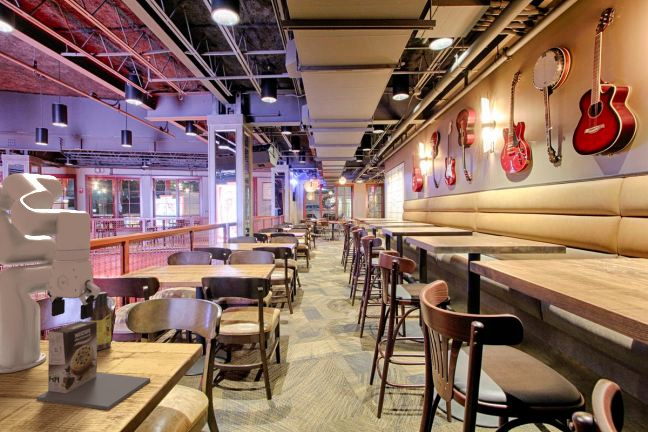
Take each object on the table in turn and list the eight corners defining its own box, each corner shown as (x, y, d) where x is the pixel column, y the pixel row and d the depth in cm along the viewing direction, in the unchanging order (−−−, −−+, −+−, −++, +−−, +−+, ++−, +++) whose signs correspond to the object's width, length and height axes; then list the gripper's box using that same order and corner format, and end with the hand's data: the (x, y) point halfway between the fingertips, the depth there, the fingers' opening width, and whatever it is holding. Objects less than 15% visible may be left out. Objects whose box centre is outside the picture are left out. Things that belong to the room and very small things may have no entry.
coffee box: (66, 394, 83) (66, 332, 83) (47, 391, 85) (46, 330, 85) (98, 377, 92) (97, 321, 92) (79, 374, 94) (79, 320, 94)
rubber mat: (36, 400, 82) (36, 396, 82) (87, 373, 96) (87, 371, 96) (108, 409, 78) (108, 406, 78) (150, 380, 91) (150, 378, 91)
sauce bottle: (110, 349, 114) (110, 293, 114) (89, 352, 111) (88, 295, 111) (112, 343, 119) (111, 290, 120) (91, 346, 116) (91, 292, 116)
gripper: (33, 255, 87) (32, 317, 87) (86, 258, 83) (85, 324, 83) (61, 252, 94) (60, 309, 94) (111, 255, 90) (109, 315, 91)
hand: (72, 316), depth 89 cm, fingers open, 9 cm apart
